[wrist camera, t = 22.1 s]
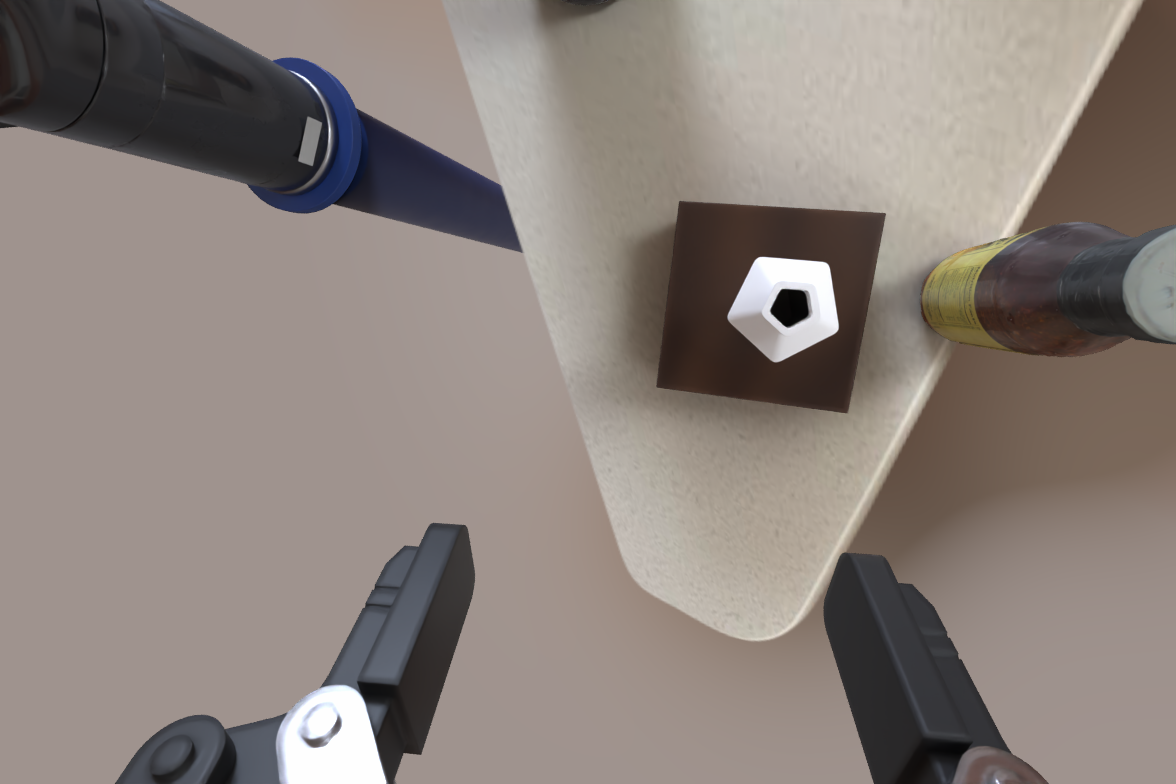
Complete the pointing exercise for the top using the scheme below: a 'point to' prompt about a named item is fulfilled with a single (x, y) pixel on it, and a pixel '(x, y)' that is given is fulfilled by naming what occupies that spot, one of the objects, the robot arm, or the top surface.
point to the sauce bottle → (1057, 291)
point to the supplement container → (584, 2)
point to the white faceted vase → (785, 306)
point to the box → (714, 278)
